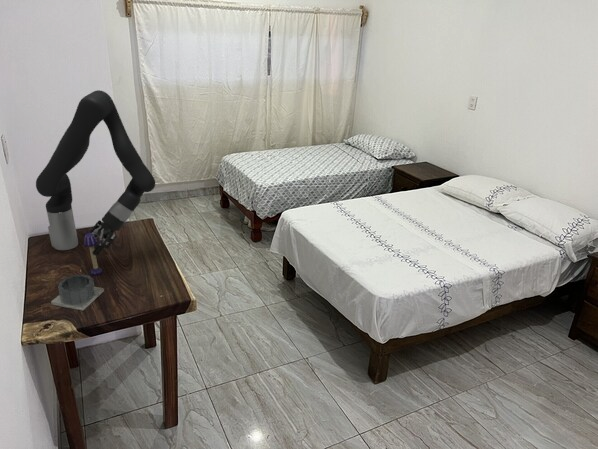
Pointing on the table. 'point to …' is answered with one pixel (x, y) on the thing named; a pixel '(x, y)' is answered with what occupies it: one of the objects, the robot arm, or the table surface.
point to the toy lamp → (91, 242)
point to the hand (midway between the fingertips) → (90, 249)
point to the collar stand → (77, 292)
